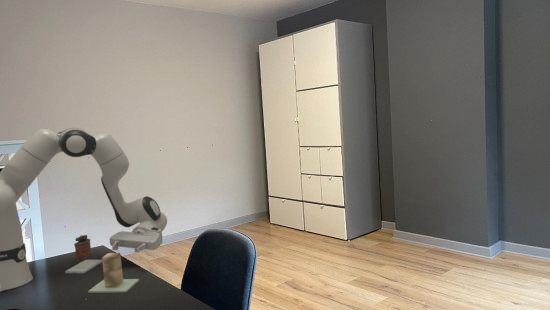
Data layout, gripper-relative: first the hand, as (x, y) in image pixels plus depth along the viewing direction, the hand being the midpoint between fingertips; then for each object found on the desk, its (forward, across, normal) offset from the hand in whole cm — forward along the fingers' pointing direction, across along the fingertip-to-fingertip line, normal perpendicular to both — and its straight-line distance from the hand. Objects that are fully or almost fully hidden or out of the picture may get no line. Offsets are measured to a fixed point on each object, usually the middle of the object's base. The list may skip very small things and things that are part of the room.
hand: (125, 249), depth 160 cm
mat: (+14, +3, +7) cm, 16 cm away
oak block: (+14, +3, +7) cm, 15 cm away
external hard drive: (-4, -22, +13) cm, 25 cm away
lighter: (-14, -30, +14) cm, 36 cm away
